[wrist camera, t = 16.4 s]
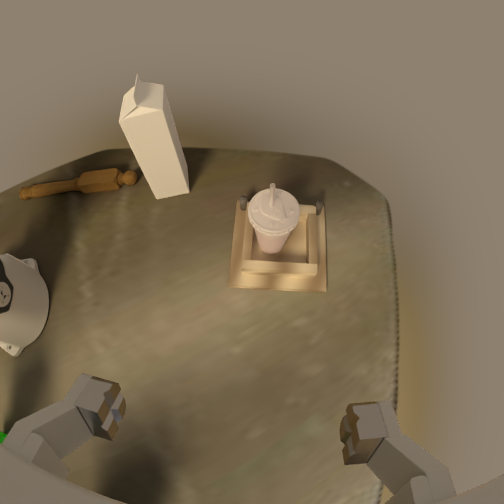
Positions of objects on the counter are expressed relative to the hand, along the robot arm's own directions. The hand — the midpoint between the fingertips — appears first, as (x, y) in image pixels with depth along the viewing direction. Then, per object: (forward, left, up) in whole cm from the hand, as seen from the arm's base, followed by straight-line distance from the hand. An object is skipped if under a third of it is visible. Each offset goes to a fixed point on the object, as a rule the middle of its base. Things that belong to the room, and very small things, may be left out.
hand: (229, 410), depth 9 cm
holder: (+3, +20, -31) cm, 38 cm away
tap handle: (-38, +31, -32) cm, 58 cm away
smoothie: (+2, +20, -31) cm, 37 cm away
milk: (-16, +31, -32) cm, 47 cm away
